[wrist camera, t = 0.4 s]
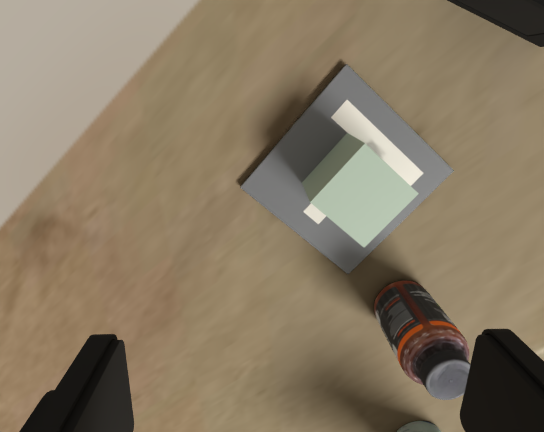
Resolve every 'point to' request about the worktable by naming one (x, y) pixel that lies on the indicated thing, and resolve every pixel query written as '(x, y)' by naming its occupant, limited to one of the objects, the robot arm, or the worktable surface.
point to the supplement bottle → (423, 339)
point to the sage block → (357, 190)
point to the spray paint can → (419, 427)
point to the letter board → (320, 141)
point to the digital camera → (511, 16)
